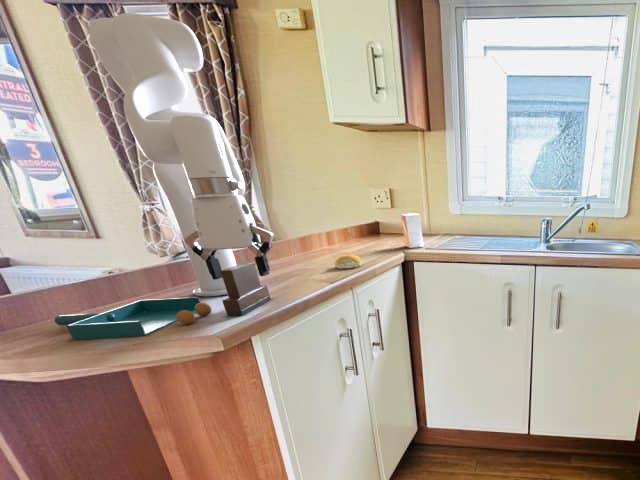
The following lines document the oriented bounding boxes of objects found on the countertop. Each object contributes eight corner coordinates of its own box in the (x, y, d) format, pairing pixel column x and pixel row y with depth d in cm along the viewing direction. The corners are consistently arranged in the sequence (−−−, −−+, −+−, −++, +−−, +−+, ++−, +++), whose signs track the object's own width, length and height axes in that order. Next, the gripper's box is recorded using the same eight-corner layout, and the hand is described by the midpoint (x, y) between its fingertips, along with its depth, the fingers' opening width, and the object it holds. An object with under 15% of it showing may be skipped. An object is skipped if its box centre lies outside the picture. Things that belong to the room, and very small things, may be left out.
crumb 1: (185, 322, 85) (180, 308, 83) (199, 321, 85) (194, 307, 84) (176, 326, 82) (170, 312, 81) (191, 325, 82) (186, 311, 81)
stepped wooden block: (257, 300, 100) (246, 261, 96) (270, 299, 100) (259, 260, 96) (227, 316, 87) (212, 272, 84) (242, 315, 88) (228, 271, 84)
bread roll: (363, 263, 144) (360, 251, 143) (360, 268, 137) (358, 255, 135) (337, 265, 143) (335, 253, 141) (333, 269, 135) (330, 257, 133)
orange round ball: (202, 314, 90) (197, 301, 89) (215, 313, 90) (211, 300, 89) (194, 317, 88) (189, 304, 86) (208, 317, 88) (203, 303, 87)
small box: (404, 246, 184) (400, 214, 178) (419, 244, 187) (415, 213, 181) (409, 248, 178) (405, 215, 172) (424, 246, 180) (420, 214, 174)
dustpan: (202, 308, 94) (198, 296, 93) (144, 335, 77) (138, 321, 76) (97, 314, 93) (91, 302, 92) (14, 343, 76) (6, 329, 75)
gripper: (267, 187, 87) (289, 271, 94) (180, 192, 86) (210, 276, 93) (250, 186, 81) (275, 276, 88) (156, 191, 80) (189, 283, 87)
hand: (241, 276), depth 90 cm, fingers open, 9 cm apart
